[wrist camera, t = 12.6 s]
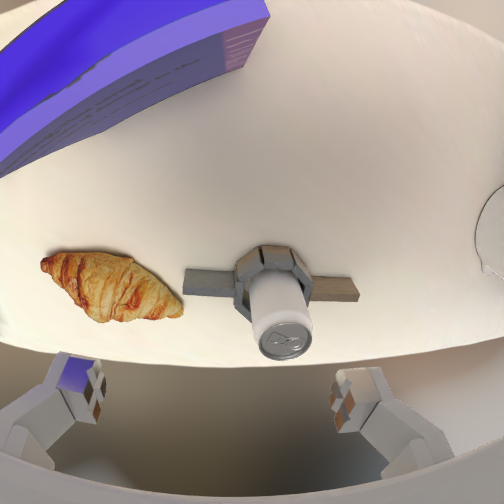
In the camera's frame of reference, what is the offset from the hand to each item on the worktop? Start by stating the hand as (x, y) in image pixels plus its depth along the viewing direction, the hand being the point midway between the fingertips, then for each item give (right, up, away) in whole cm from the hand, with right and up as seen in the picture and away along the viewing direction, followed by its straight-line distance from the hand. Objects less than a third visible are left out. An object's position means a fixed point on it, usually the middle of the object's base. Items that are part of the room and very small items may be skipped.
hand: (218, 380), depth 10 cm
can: (+4, +1, +33) cm, 33 cm away
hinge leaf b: (0, +1, +33) cm, 33 cm away
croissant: (-18, 0, +32) cm, 37 cm away
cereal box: (-9, +23, +20) cm, 32 cm away
